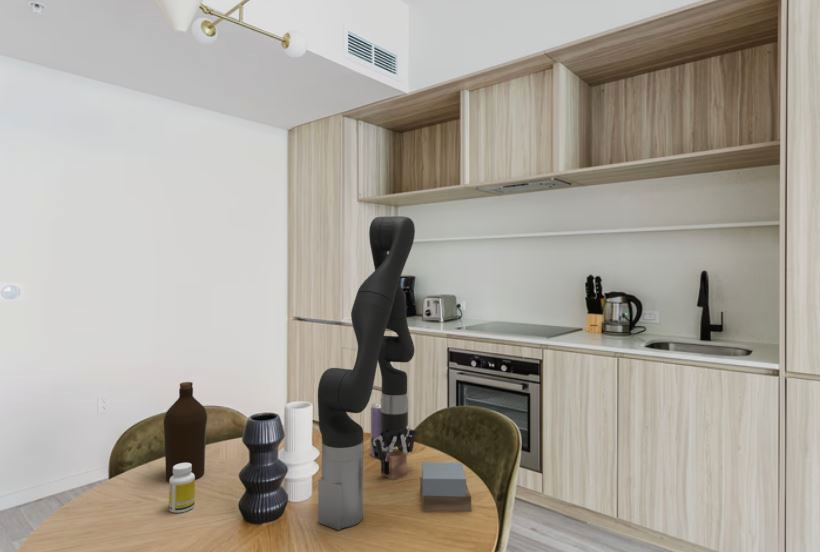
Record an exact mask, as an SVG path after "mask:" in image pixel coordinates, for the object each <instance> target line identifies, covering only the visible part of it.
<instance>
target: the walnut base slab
mask: <svg viewBox="0 0 820 552" xmlns="http://www.w3.org/2000/svg"><path fill="white" fill-rule="evenodd" d="M419 493H420V499H421V503H422V509H423V510H422V511H423V513H445V512H447V513H452V512H453V513H454V512H456V513H458V512H471V511H472V495H471V491H470V490H469V487H468V485H467V483H466V497H461V496H423V488H422V476H421V477H419Z"/></svg>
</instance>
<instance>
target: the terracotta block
mask: <svg viewBox="0 0 820 552" xmlns="http://www.w3.org/2000/svg"><path fill="white" fill-rule="evenodd" d="M385 455H386V454H385ZM407 459H408V454H407V453H405V452H402V451H401V450H398V448H397V447H395V448H393V451H392V453H391V454H390V456H389V460H388V461H389V474H388V475H385V474H383V473H382V471H381V470H380V474H381V476H383V475H384V477H386V478H387V479H389V480H391V481H395V480H396V479H400V478H403V477H406V476H407V474H408V471H407V470H408V469H407V468H408V467H407V464H408V463H407V462H408V460H407Z"/></svg>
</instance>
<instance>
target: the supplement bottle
mask: <svg viewBox="0 0 820 552" xmlns="http://www.w3.org/2000/svg"><path fill="white" fill-rule="evenodd" d="M191 471H192V464H191V463H180V464H177V465H175V466H173V474H174V475H173V476H171V478H170V480H169V481H168V483H169V485H168V487H169V488H168V510H169V512H171V513H174V514H177V513H178V514H180V513H181V514H182V513H186V512H188V511H190V510H192V509H193V508H194V506H195V505H196V504H195V503H196V502H195V501H196V499H195V498H196V494H195V493H196V485H195V483H196V480H195V475H194V474H193V473H192V472H191Z"/></svg>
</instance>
